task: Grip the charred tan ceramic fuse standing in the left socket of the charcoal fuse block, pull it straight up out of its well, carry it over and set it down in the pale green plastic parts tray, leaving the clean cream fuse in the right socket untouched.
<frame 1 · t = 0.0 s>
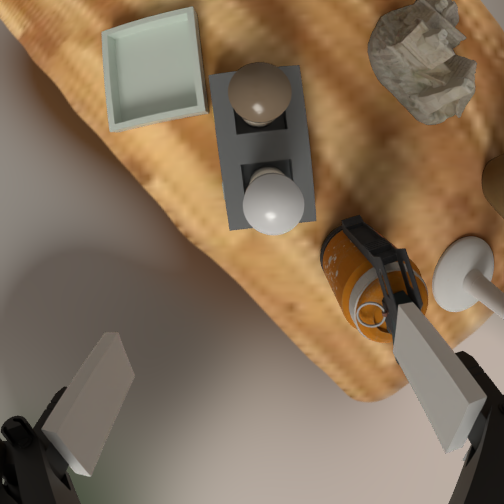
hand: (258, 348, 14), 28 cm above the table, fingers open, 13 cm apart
candlestick: (463, 274, 43), on the table
ceramic cottage: (421, 62, 33), on the table
canister: (349, 245, 42), on the table
plant pot: (496, 179, 38), on the table
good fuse: (267, 183, 38), point 1 cm above the table, touching fuse block
parts tray: (156, 71, 34), on the table
fuse block: (263, 146, 38), on the table
blown fuse: (258, 109, 35), point 1 cm above the table, touching fuse block
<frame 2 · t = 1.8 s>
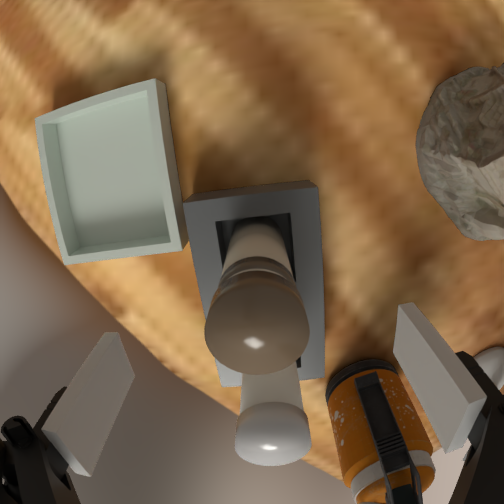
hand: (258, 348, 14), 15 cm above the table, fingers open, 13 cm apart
candlestick: (477, 380, 36), on the table
ceramic cottage: (478, 153, 25), on the table
canister: (359, 377, 34), on the table
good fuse: (267, 329, 31), point 1 cm above the table, touching fuse block
parts tray: (114, 174, 27), on the table
fuse block: (262, 283, 30), on the table
blown fuse: (256, 240, 27), point 1 cm above the table, touching fuse block
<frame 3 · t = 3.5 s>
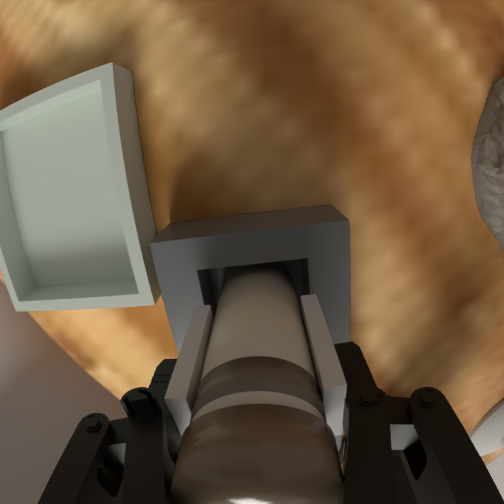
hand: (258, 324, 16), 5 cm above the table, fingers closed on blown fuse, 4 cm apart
candlestick: (502, 420, 28), on the table
canister: (378, 433, 26), on the table
parts tray: (68, 195, 19), on the table
fuse block: (265, 339, 22), on the table
blown fuse: (258, 288, 20), point 1 cm above the table, touching fuse block, gripper
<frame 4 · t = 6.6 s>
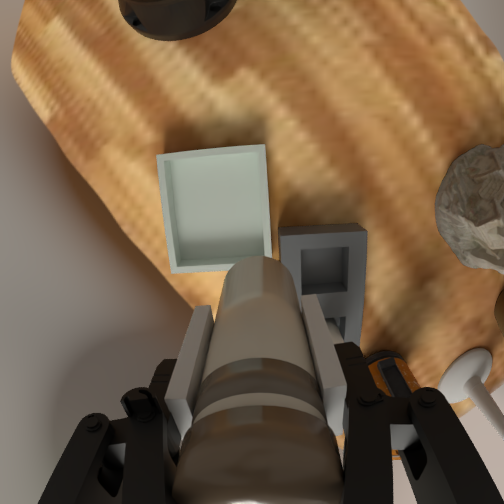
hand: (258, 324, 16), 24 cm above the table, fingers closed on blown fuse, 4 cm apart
candlestick: (464, 375, 47), on the table
ceramic cottage: (476, 207, 38), on the table
canister: (377, 365, 46), on the table
parts tray: (217, 206, 38), on the table
fuse block: (318, 292, 42), on the table
blown fuse: (258, 289, 20), point 20 cm above the table, touching gripper
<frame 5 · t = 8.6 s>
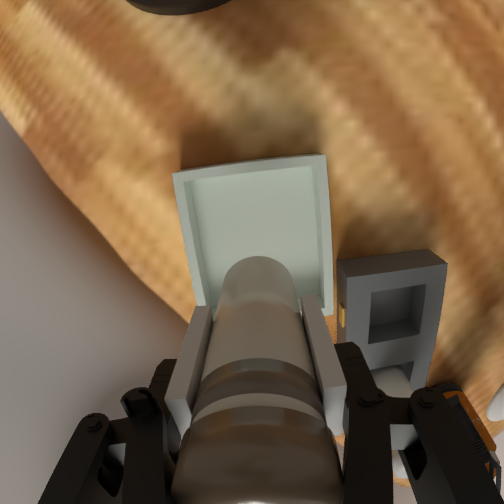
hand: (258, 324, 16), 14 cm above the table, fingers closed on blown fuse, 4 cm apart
canister: (433, 397, 37), on the table
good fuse: (379, 368, 33), point 1 cm above the table, touching fuse block
parts tray: (258, 237, 29), on the table
fuse block: (380, 331, 32), on the table
blown fuse: (258, 289, 20), point 10 cm above the table, touching gripper
when the fingers open (6 cm above the table, at t = 10.1 s): blown fuse drops 1 cm, resting on parts tray.
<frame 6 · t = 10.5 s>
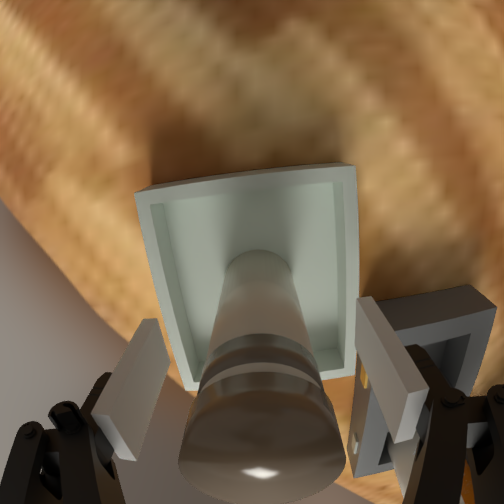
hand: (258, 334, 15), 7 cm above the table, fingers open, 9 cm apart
canister: (454, 439, 29), on the table
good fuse: (401, 420, 25), point 1 cm above the table, touching fuse block
parts tray: (258, 277, 21), on the table
fuse block: (406, 381, 25), on the table
blown fuse: (258, 282, 21), point 1 cm above the table, touching parts tray
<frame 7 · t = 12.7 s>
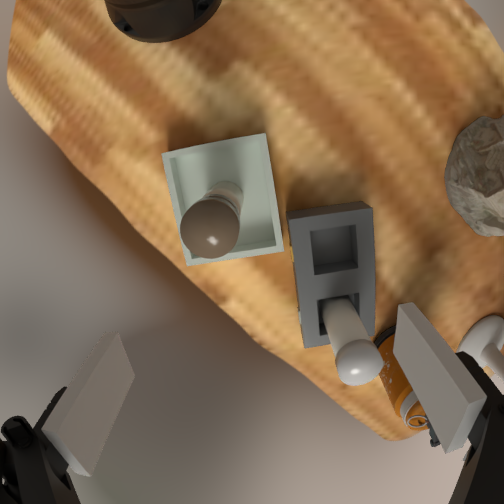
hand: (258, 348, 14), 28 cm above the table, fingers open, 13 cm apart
candlestick: (481, 343, 48), on the table
ceramic cottage: (484, 177, 38), on the table
canister: (394, 339, 47), on the table
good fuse: (334, 303, 43), point 1 cm above the table, touching fuse block
parts tray: (225, 197, 39), on the table
fuse block: (331, 271, 43), on the table
blown fuse: (225, 198, 39), point 1 cm above the table, touching parts tray
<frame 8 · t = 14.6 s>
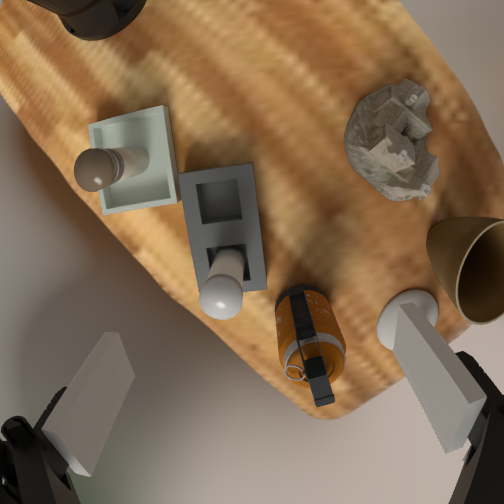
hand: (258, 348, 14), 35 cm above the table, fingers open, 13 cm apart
candlestick: (407, 320, 53), on the table
ceramic cottage: (393, 142, 44), on the table
canister: (300, 302, 52), on the table
plant pot: (442, 239, 48), on the table
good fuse: (230, 257, 48), point 1 cm above the table, touching fuse block
parts tray: (137, 160, 45), on the table
fuse block: (226, 226, 48), on the table
blown fuse: (135, 160, 44), point 1 cm above the table, touching parts tray
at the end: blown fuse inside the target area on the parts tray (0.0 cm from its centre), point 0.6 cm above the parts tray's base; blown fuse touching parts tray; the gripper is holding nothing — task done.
